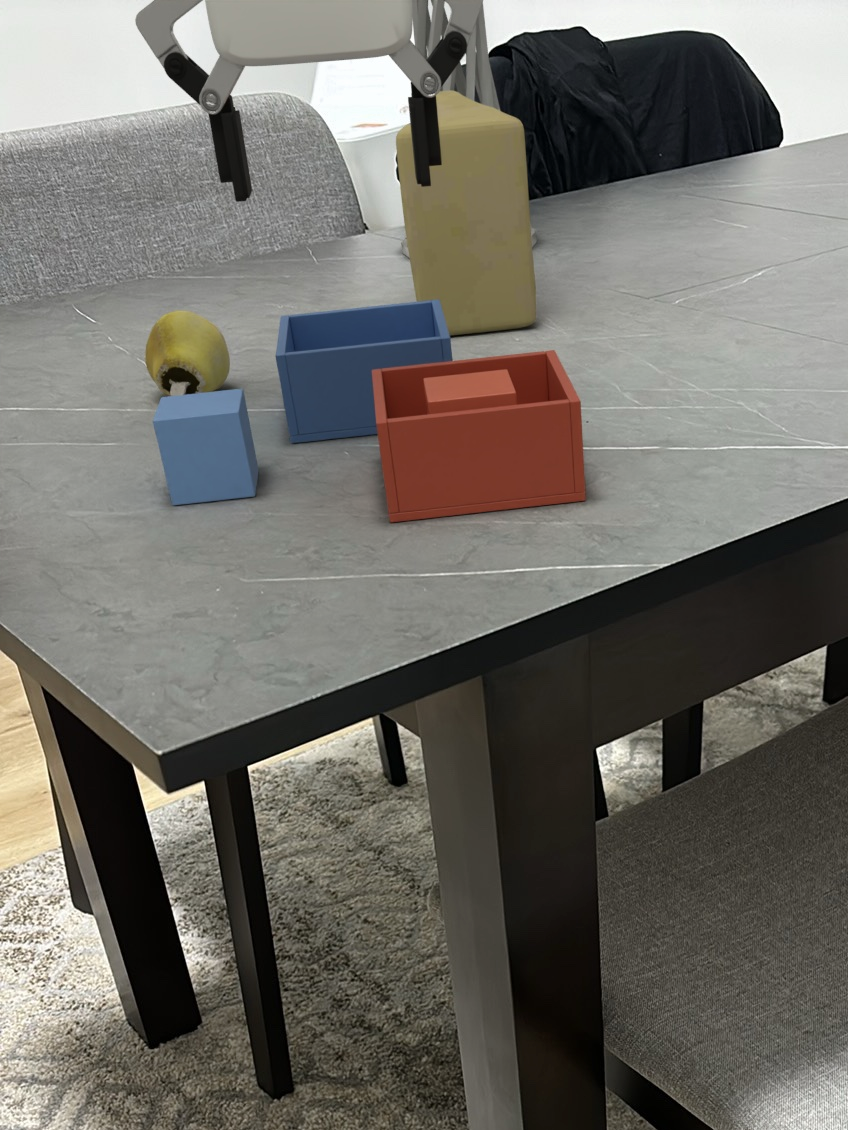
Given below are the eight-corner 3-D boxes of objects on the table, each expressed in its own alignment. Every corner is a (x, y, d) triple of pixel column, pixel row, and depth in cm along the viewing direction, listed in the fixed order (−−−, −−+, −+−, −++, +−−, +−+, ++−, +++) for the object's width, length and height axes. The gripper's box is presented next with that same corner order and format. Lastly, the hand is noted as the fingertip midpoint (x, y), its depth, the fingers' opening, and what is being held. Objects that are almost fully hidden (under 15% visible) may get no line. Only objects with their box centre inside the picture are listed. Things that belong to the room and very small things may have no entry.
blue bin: (290, 443, 91) (275, 355, 88) (294, 397, 100) (280, 315, 97) (459, 425, 92) (450, 337, 89) (448, 380, 101) (439, 299, 98)
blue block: (172, 506, 83) (152, 420, 80) (179, 479, 87) (160, 396, 84) (255, 496, 84) (238, 411, 80) (259, 470, 87) (243, 388, 84)
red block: (438, 490, 81) (427, 401, 78) (433, 463, 85) (423, 377, 81) (523, 481, 81) (516, 391, 78) (514, 454, 85) (507, 368, 82)
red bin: (389, 522, 78) (376, 423, 75) (384, 461, 87) (371, 369, 84) (586, 500, 79) (580, 400, 76) (560, 441, 88) (554, 349, 84)
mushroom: (138, 423, 98) (146, 366, 105) (225, 438, 100) (227, 381, 106) (142, 341, 94) (150, 287, 101) (232, 358, 96) (234, 304, 103)
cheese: (408, 283, 128) (385, 93, 119) (512, 272, 129) (497, 82, 120) (418, 341, 111) (392, 124, 102) (539, 328, 111) (524, 111, 102)
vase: (397, 266, 134) (340, -203, 113) (406, 239, 145) (355, -194, 124) (537, 255, 134) (506, -218, 113) (536, 229, 145) (507, -208, 123)
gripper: (461, -234, 67) (489, 167, 78) (102, -211, 66) (178, 192, 77) (472, -249, 61) (500, 188, 72) (78, -224, 61) (164, 215, 71)
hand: (334, 190), depth 74 cm, fingers open, 9 cm apart
